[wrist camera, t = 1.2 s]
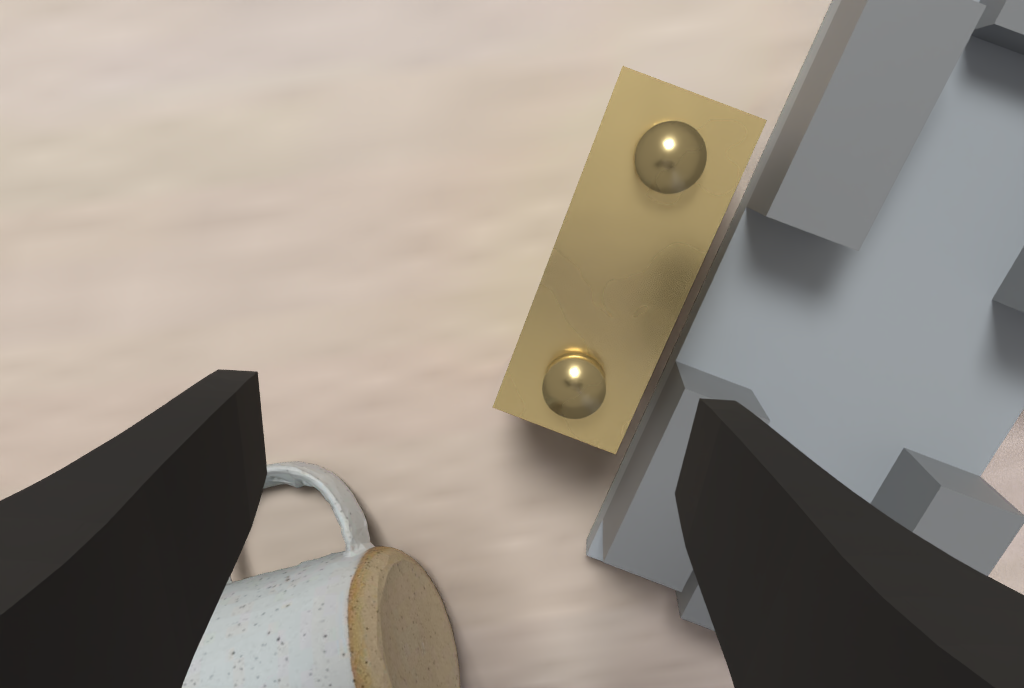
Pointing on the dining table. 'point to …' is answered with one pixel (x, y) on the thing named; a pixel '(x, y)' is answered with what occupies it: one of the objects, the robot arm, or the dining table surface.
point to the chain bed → (863, 289)
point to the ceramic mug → (330, 615)
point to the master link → (626, 257)
